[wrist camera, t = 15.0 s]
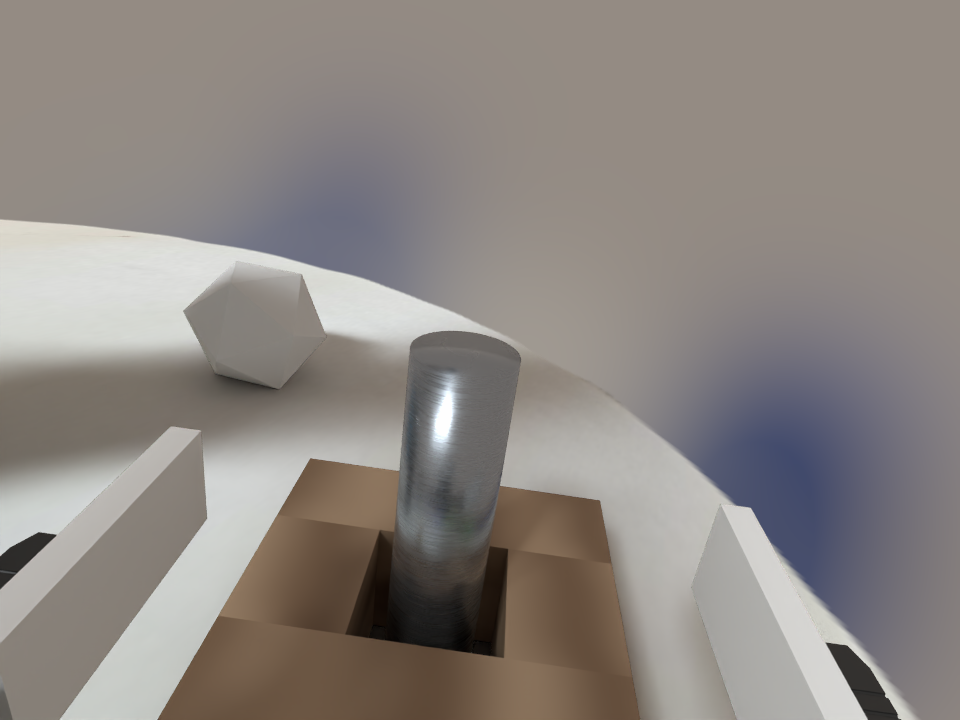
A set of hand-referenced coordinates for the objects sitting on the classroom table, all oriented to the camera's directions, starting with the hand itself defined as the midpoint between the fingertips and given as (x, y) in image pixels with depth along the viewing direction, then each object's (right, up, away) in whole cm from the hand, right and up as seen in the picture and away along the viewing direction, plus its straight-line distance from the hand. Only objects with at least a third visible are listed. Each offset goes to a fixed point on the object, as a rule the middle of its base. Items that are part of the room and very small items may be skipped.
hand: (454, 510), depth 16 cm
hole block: (-1, -9, +8) cm, 12 cm away
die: (-15, +3, +29) cm, 33 cm away
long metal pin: (-1, -9, +8) cm, 12 cm away
